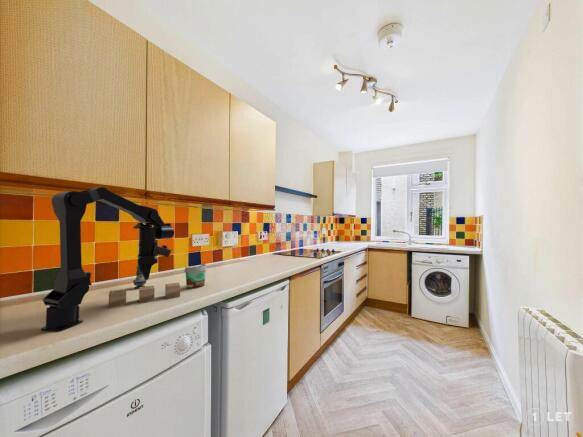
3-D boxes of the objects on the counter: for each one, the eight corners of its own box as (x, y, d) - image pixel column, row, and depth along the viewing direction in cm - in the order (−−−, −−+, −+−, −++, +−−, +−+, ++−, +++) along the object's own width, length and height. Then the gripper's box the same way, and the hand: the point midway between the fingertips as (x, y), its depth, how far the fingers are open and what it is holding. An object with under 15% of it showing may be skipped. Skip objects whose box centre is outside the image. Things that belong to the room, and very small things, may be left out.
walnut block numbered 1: (180, 296, 97) (180, 284, 97) (166, 299, 94) (166, 286, 95) (178, 294, 101) (178, 281, 102) (165, 296, 99) (165, 283, 99)
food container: (195, 290, 107) (195, 268, 107) (184, 289, 109) (184, 267, 109) (212, 284, 118) (212, 264, 119) (202, 283, 120) (202, 263, 121)
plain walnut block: (154, 301, 92) (154, 288, 92) (139, 303, 89) (139, 290, 90) (153, 297, 96) (153, 285, 96) (139, 299, 94) (139, 287, 94)
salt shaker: (130, 289, 108) (130, 263, 108) (135, 286, 114) (135, 261, 114) (144, 288, 110) (145, 263, 110) (148, 285, 115) (149, 261, 116)
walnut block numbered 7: (125, 305, 87) (125, 291, 87) (108, 308, 84) (108, 293, 84) (126, 301, 91) (126, 288, 91) (109, 304, 88) (110, 290, 89)
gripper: (172, 240, 90) (172, 281, 90) (167, 238, 106) (167, 273, 105) (138, 241, 84) (137, 285, 83) (138, 239, 100) (137, 276, 99)
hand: (146, 279), depth 93 cm, fingers closed
